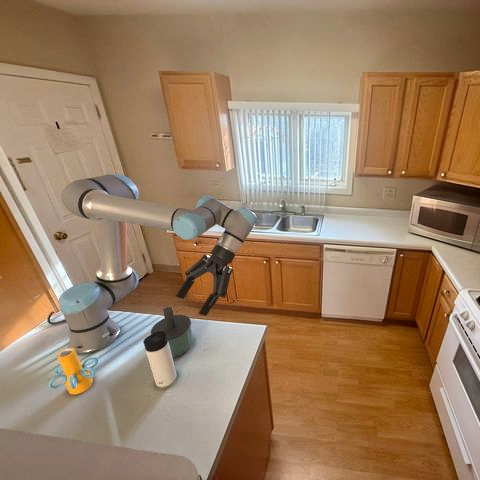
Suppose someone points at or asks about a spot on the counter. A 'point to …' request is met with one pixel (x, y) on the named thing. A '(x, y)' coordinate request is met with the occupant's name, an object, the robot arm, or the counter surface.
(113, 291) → the robot arm
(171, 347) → the cup
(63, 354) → the orange toy with loops
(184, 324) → the lid
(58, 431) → the counter surface
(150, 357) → the travel mug
